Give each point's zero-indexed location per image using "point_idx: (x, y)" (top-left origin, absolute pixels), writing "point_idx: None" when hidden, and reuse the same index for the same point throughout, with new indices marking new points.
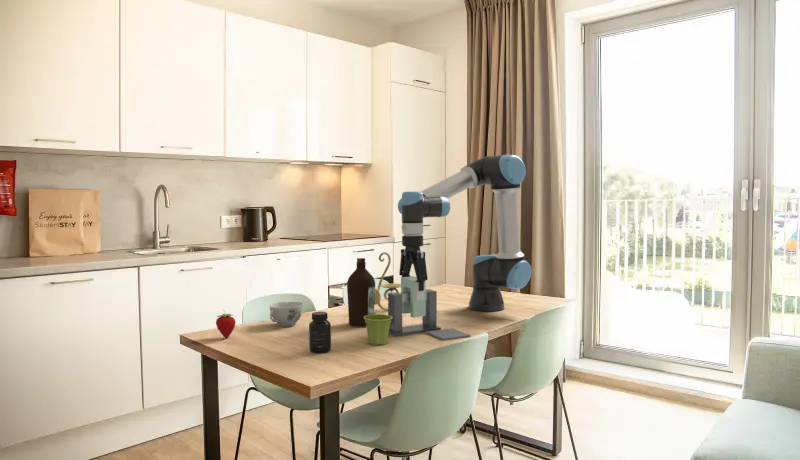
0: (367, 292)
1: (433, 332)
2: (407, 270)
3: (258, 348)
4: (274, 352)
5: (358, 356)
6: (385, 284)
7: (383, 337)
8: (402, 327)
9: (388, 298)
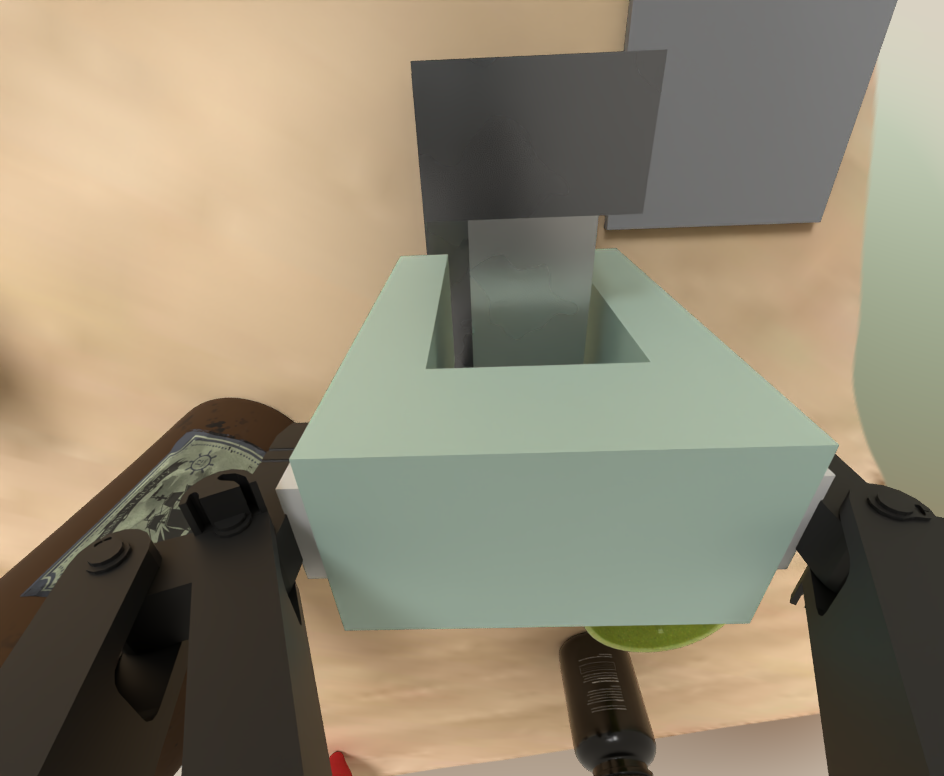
0: None
1: (651, 194)
2: (305, 689)
3: (477, 726)
4: (536, 712)
5: None
6: None
7: None
8: (455, 329)
9: None
